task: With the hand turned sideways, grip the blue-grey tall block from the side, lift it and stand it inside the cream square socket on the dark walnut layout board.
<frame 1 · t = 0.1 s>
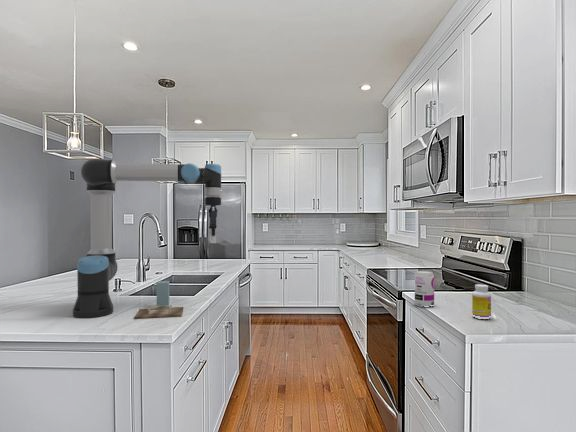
hand: (212, 242, 191), 28 cm above the countertop, tool pointing down, fingers open, 13 cm apart
supplement bottle: (481, 318, 158), on the countertop
blue-grey tall block: (163, 306, 180), on the countertop
layout board: (160, 313, 167), on the countertop
supplement can: (424, 306, 180), on the countertop
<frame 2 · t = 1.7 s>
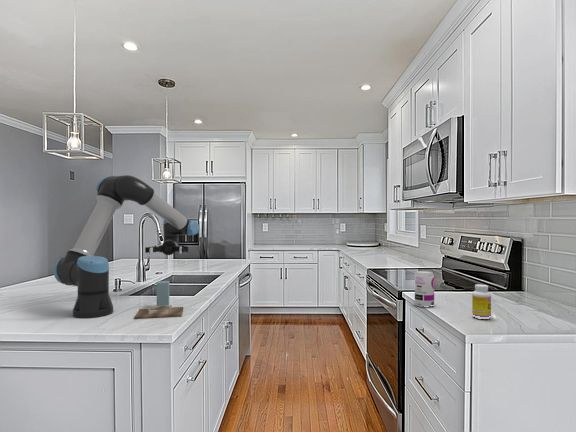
hand: (165, 251, 191), 24 cm above the countertop, tool horizontal, fingers open, 13 cm apart
nothing on the countertop moved.
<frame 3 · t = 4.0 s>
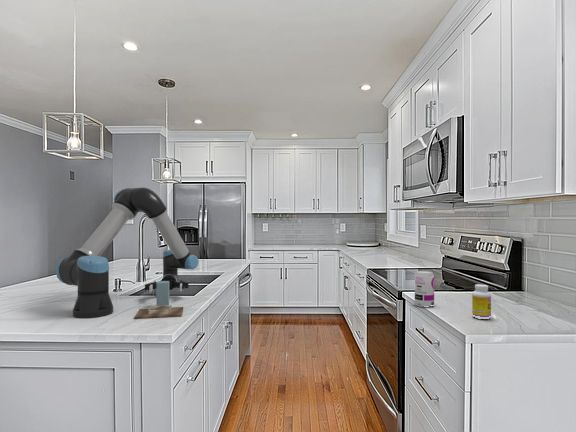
hand: (165, 289, 187), 6 cm above the countertop, tool horizontal, fingers open, 13 cm apart
nothing on the countertop moved.
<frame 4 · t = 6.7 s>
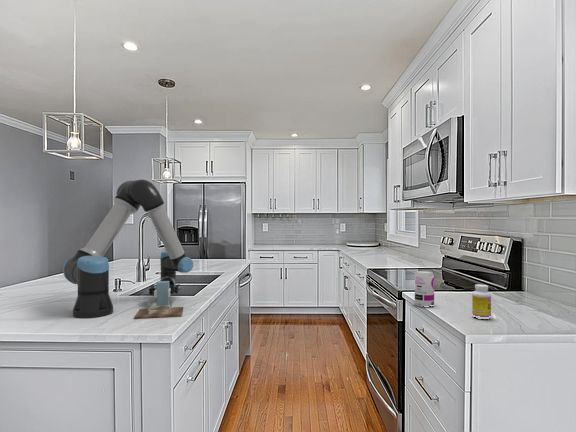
hand: (161, 294, 175), 7 cm above the countertop, tool horizontal, fingers closed on blue-grey tall block, 5 cm apart
blue-grey tall block: (163, 306, 180), on the countertop, touching gripper
everything else where it was.
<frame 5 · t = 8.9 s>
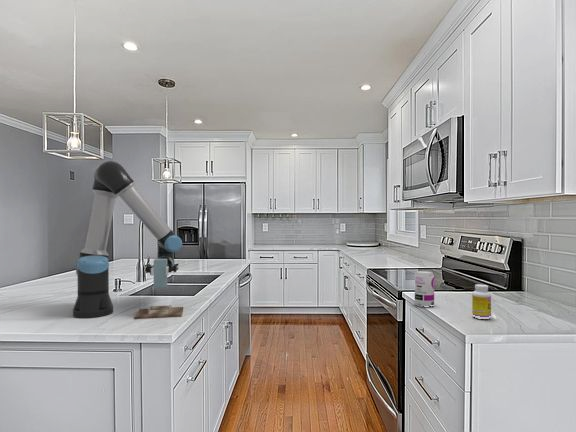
hand: (159, 271, 163), 18 cm above the countertop, tool horizontal, fingers closed on blue-grey tall block, 5 cm apart
blue-grey tall block: (160, 286, 168), point 11 cm above the countertop, touching gripper
everything else where it was.
when the fingers open (9 cm above the countertop, at t = 11.4 s): blue-grey tall block drops 1 cm, resting on layout board.
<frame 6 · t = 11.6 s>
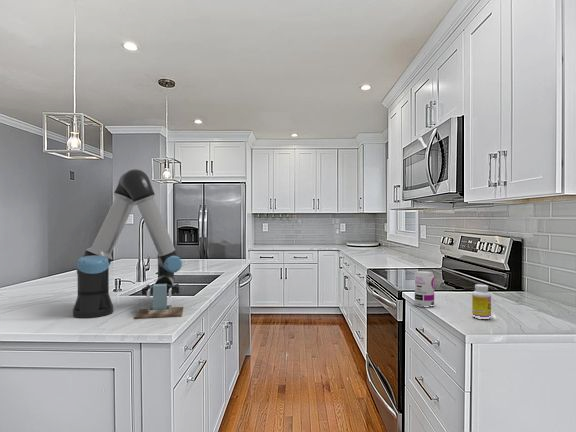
hand: (158, 294, 163), 9 cm above the countertop, tool horizontal, fingers open, 8 cm apart
blue-grey tall block: (160, 311, 167), point 1 cm above the countertop, touching layout board
everything else where it was.
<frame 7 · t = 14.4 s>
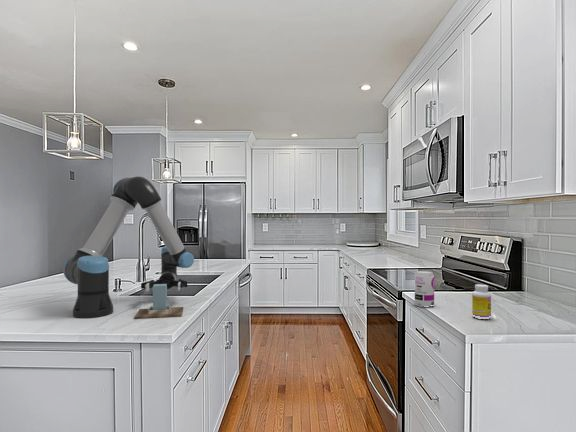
hand: (162, 288, 177), 9 cm above the countertop, tool horizontal, fingers open, 13 cm apart
nothing on the countertop moved.
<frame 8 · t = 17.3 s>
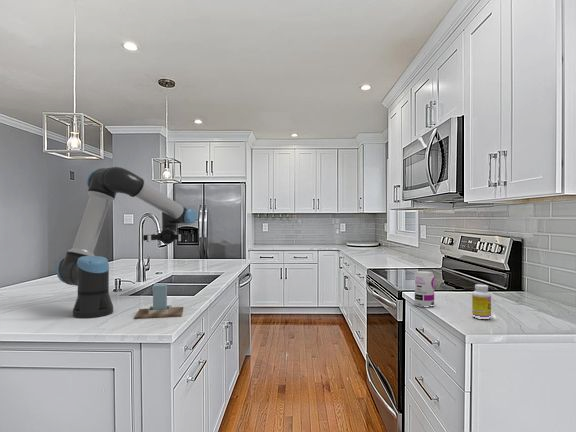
hand: (164, 238, 185), 30 cm above the countertop, tool horizontal, fingers open, 13 cm apart
nothing on the countertop moved.
at the end: blue-grey tall block 0.0 cm off-centre on the layout board, point 0.8 cm above the layout board's base; blue-grey tall block tilted 0°; the gripper is holding nothing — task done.
